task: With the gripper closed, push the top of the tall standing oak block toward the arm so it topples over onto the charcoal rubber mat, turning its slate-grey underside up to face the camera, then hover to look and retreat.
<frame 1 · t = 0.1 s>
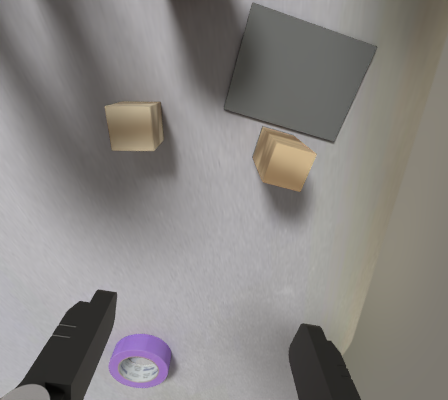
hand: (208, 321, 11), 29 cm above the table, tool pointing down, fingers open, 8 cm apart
oak block: (272, 146, 38), on the table
mat: (296, 79, 34), on the table
masking tape: (143, 351, 56), on the table
maple block: (143, 121, 36), on the table
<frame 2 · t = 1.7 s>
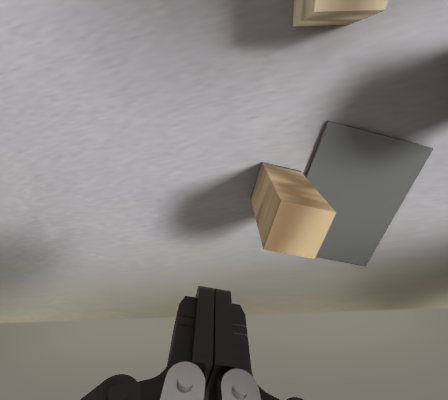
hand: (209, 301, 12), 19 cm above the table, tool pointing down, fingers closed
oak block: (275, 185, 30), on the table
mat: (347, 201, 31), on the table
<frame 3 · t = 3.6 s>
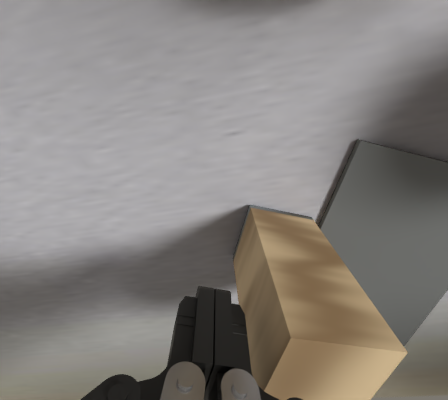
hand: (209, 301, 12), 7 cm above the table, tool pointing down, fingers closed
oak block: (271, 238, 19), on the table, touching gripper
mat: (383, 260, 20), on the table
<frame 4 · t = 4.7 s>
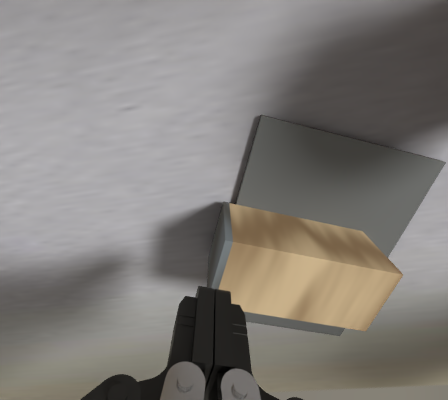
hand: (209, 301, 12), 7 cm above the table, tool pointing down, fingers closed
oak block: (215, 249, 16), point 3 cm above the table, tilted 90°, touching mat
mat: (307, 245, 20), on the table
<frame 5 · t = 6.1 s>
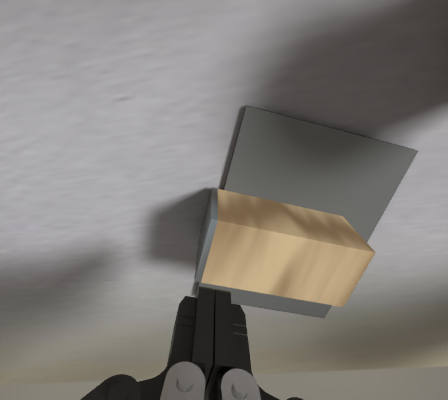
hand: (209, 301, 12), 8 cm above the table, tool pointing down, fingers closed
oak block: (203, 231, 17), point 3 cm above the table, tilted 90°, touching mat
mat: (291, 230, 21), on the table
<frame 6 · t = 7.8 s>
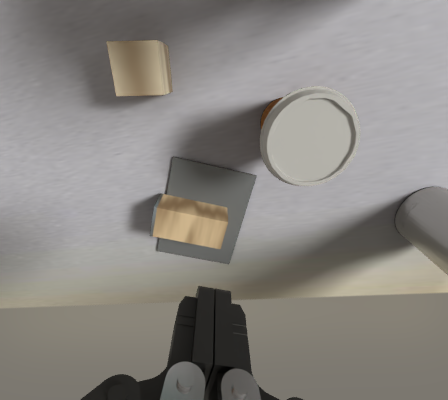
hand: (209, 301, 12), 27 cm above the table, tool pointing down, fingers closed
disposable coffee cup: (283, 122, 36), on the table
oak block: (155, 213, 38), point 3 cm above the table, tilted 90°, touching mat
mat: (203, 214, 41), on the table
maple block: (149, 70, 33), on the table
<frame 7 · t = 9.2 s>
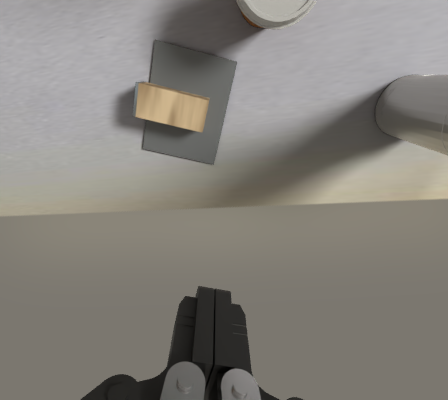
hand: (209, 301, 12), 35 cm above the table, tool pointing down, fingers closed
disposable coffee cup: (262, 0, 36), on the table
oak block: (138, 98, 39), point 3 cm above the table, tilted 90°, touching mat
mat: (187, 107, 42), on the table
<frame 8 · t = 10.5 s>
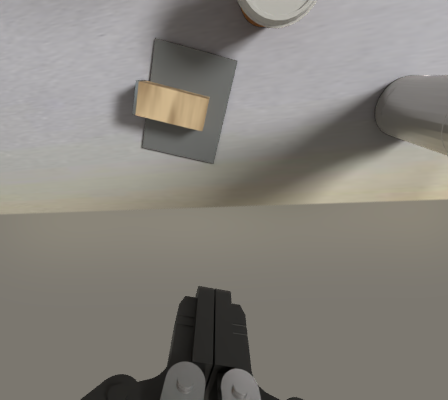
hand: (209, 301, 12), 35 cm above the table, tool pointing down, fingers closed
disposable coffee cup: (262, 0, 36), on the table
oak block: (138, 96, 39), point 3 cm above the table, tilted 90°, touching mat
mat: (187, 106, 42), on the table
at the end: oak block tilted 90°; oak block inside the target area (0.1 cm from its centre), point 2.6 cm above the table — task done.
